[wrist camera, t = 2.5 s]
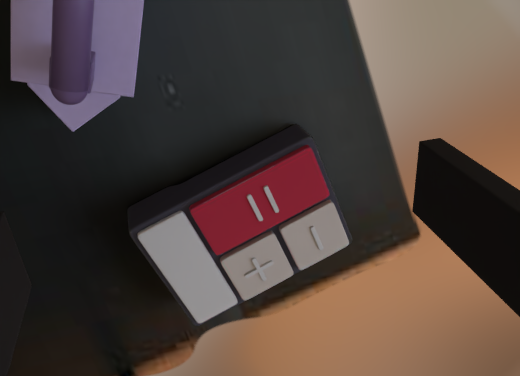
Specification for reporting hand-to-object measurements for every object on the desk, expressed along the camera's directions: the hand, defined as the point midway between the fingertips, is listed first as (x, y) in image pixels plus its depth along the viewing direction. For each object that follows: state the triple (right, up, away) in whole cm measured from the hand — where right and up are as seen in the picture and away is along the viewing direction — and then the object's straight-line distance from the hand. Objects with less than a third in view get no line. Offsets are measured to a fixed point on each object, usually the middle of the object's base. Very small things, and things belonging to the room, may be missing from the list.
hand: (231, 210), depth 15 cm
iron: (-10, +12, +15) cm, 22 cm away
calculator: (-1, -2, +25) cm, 25 cm away
